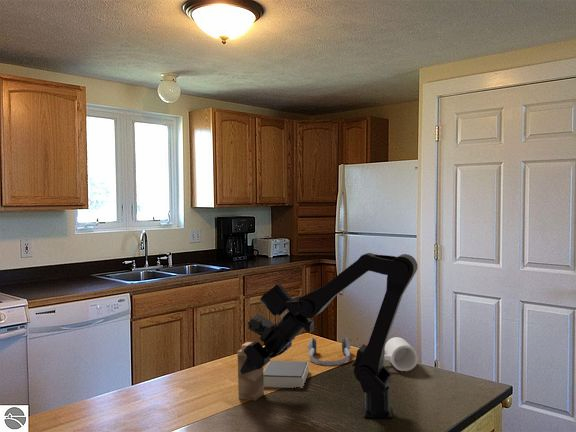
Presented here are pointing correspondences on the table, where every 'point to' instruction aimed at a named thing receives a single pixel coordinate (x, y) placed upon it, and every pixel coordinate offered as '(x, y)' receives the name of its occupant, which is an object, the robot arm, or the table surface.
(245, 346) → the cargo
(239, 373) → the tan tall cylinder
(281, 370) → the dock
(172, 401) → the table surface
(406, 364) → the mug
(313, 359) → the headphones
